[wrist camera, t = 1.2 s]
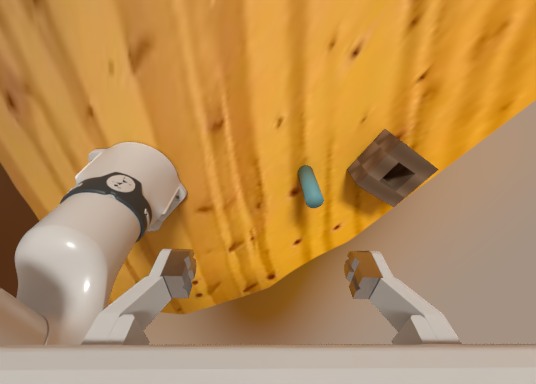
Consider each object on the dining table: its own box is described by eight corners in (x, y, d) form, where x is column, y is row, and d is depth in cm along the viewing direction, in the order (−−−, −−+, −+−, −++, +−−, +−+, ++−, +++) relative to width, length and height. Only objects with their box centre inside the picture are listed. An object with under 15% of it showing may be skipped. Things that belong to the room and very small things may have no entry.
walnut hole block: (380, 190, 50) (393, 207, 45) (347, 169, 47) (357, 185, 42) (419, 154, 45) (438, 169, 40) (384, 128, 42) (401, 141, 37)
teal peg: (306, 180, 48) (316, 210, 40) (295, 174, 47) (302, 203, 39) (315, 169, 47) (327, 198, 38) (303, 162, 46) (313, 191, 37)
